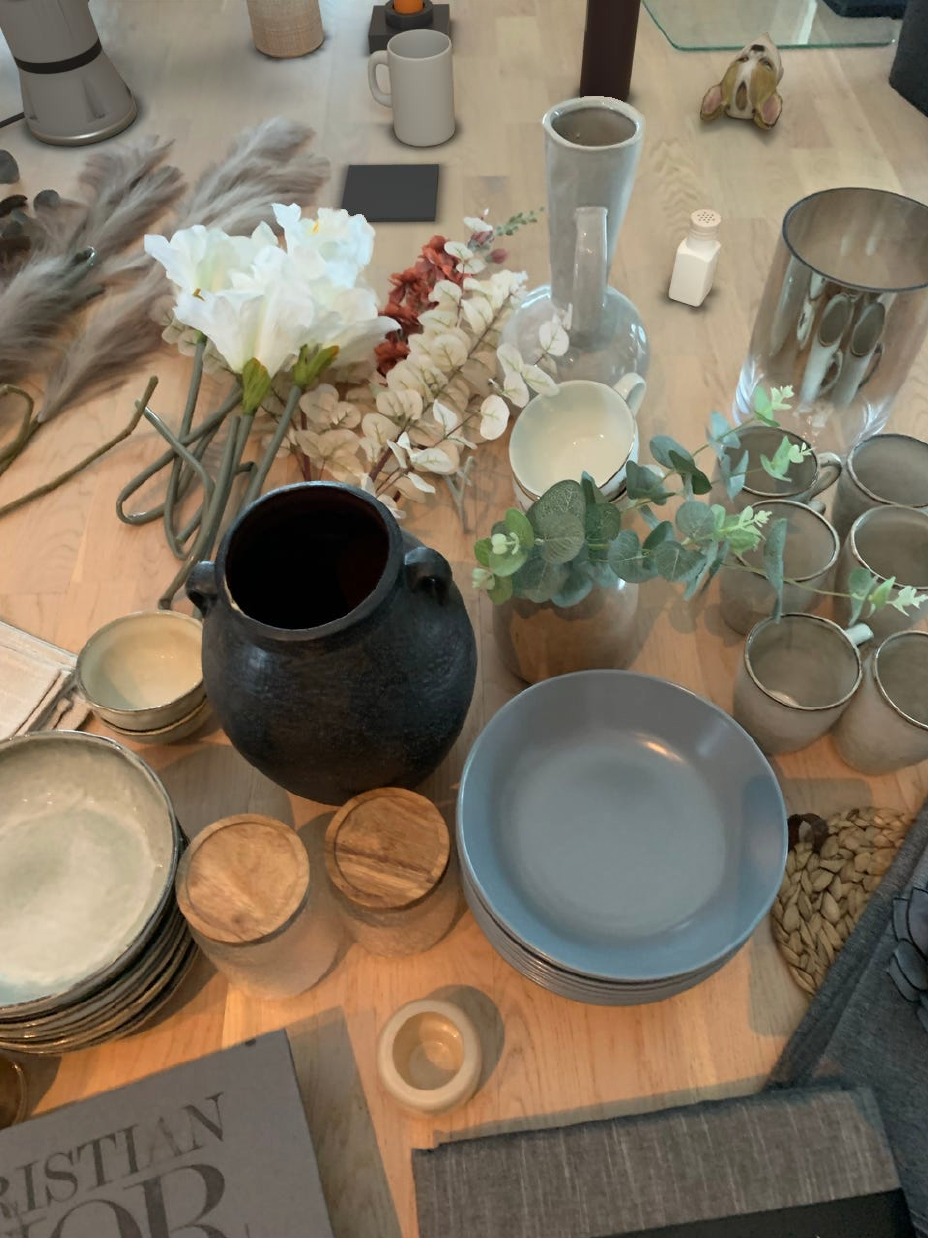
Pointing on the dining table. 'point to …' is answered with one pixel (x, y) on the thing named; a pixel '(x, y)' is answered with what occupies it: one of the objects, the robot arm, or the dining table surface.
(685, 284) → the salt shaker
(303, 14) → the planter
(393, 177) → the coaster
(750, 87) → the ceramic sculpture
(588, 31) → the wine bottle
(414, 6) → the kettle button
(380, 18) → the base
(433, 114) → the mug
